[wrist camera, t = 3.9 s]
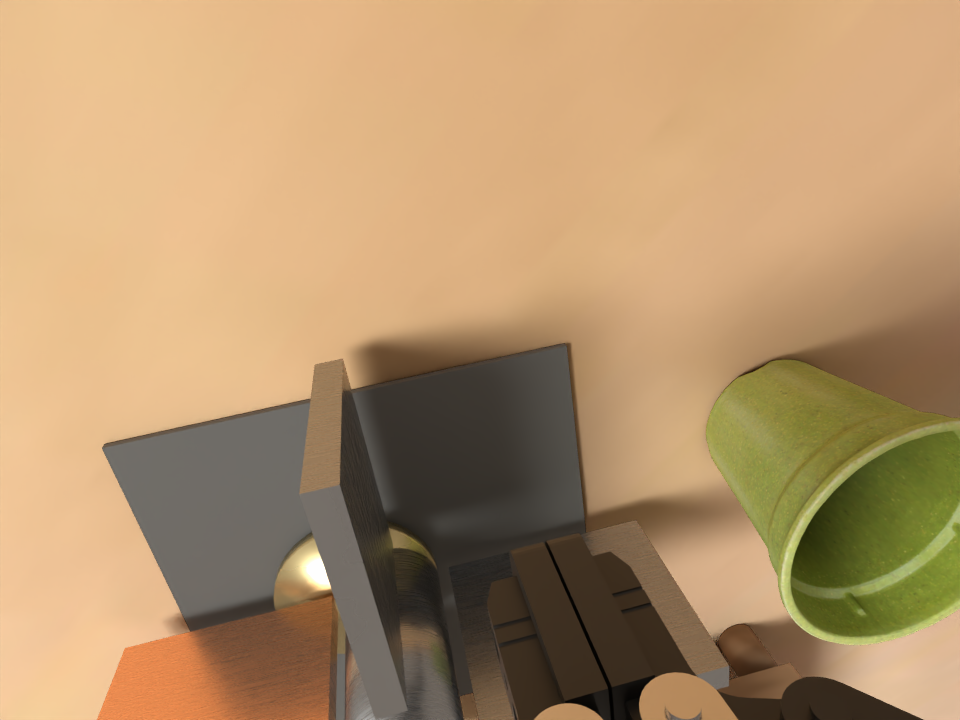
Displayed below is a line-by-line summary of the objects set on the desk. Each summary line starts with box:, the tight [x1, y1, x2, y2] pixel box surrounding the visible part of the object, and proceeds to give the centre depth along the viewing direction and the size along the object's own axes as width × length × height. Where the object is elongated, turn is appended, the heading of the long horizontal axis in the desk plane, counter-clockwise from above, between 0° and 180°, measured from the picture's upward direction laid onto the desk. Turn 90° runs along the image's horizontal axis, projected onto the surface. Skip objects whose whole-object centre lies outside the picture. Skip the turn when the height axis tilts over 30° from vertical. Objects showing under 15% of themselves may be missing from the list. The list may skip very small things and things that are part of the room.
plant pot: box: [706, 360, 960, 645], centre depth 26 cm, size 9×9×9 cm
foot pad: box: [102, 343, 586, 720], centre depth 29 cm, size 18×19×1 cm
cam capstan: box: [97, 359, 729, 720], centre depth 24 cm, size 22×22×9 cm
